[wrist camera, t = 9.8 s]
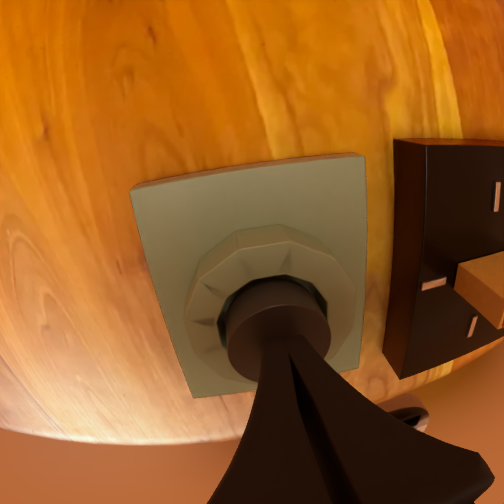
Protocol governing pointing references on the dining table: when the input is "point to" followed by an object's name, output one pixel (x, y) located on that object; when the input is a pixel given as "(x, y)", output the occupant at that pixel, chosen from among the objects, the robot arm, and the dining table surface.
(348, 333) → the doorbell
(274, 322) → the bell button
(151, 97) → the dining table surface
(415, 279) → the lock plate
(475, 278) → the red-tipped wooden block
